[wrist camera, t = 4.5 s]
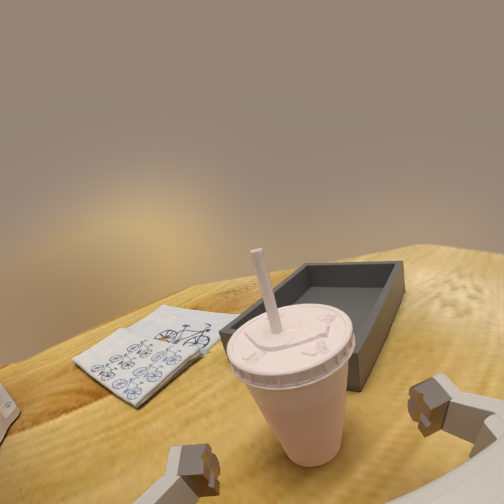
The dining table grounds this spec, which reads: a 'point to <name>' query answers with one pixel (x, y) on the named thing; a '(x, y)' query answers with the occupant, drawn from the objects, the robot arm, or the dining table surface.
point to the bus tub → (343, 305)
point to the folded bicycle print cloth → (152, 351)
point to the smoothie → (296, 371)
